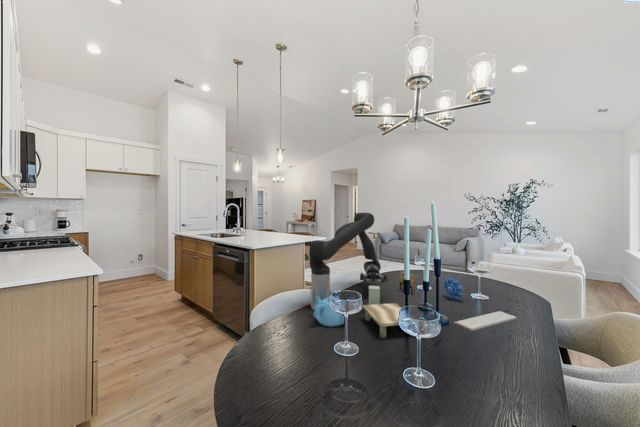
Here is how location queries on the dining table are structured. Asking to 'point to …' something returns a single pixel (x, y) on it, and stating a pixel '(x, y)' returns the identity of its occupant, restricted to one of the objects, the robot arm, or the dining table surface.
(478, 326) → the baseboard
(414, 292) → the ammunition clip
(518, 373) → the dining table surface
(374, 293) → the sage post
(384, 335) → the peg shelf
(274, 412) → the dining table surface
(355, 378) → the dining table surface
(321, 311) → the teapot
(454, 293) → the grapes
